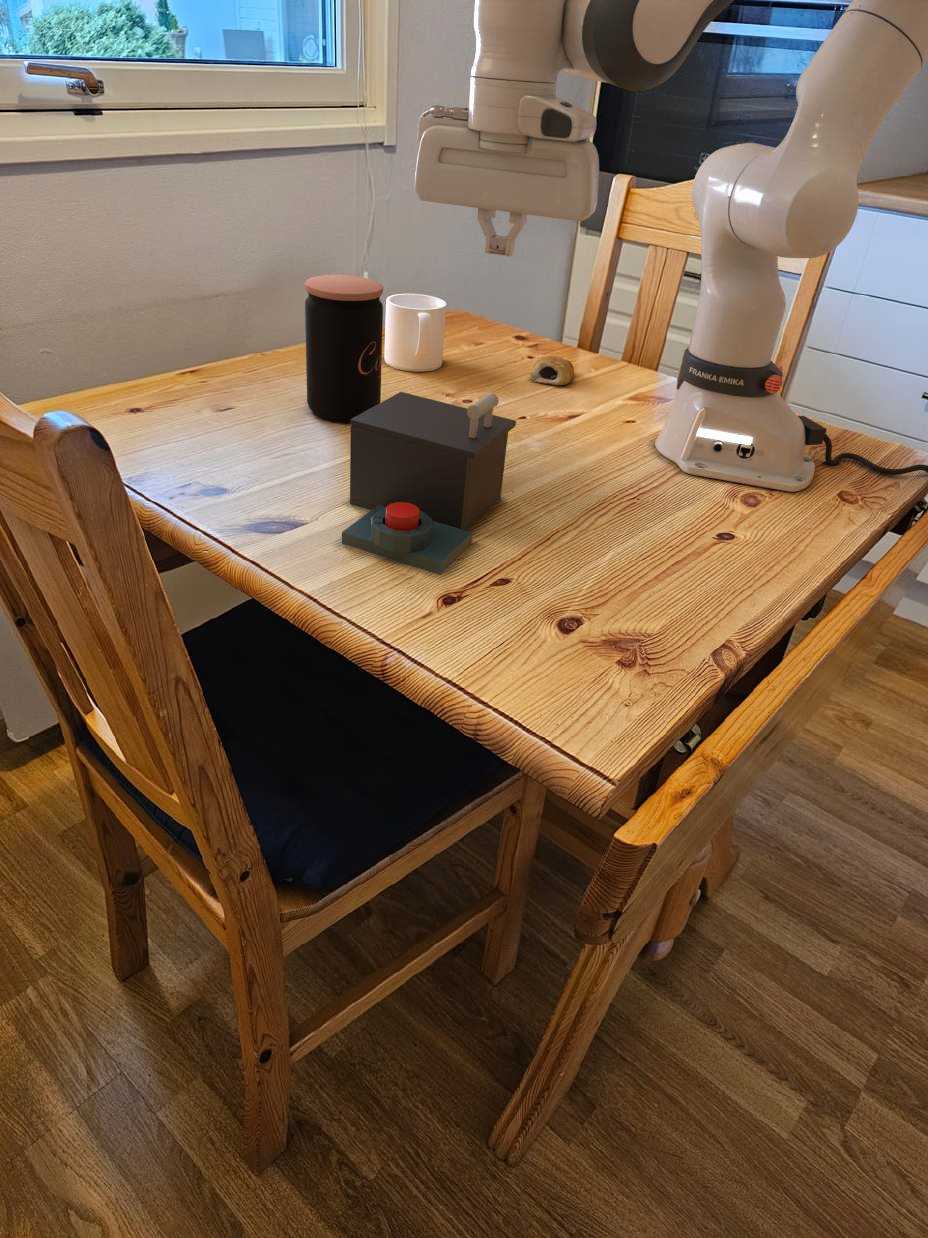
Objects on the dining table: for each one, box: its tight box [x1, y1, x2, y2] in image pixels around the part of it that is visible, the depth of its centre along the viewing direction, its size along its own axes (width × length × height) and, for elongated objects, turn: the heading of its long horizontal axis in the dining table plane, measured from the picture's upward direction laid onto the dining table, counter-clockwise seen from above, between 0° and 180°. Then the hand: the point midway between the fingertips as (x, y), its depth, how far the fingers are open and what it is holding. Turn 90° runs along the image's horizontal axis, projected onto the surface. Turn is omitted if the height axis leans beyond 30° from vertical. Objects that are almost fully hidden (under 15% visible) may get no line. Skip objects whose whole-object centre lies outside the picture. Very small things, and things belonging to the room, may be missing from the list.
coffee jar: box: [304, 274, 384, 424], centre depth 121 cm, size 11×11×18 cm
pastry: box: [530, 355, 575, 386], centre depth 146 cm, size 9×7×4 cm
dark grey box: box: [349, 425, 509, 531], centre depth 100 cm, size 15×12×10 cm
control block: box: [341, 505, 473, 575], centre depth 93 cm, size 12×9×4 cm
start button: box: [385, 502, 420, 531], centre depth 91 cm, size 4×4×2 cm
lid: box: [349, 391, 517, 459], centre depth 96 cm, size 15×12×4 cm
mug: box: [384, 293, 447, 373], centre depth 143 cm, size 13×10×10 cm
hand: (499, 254), depth 96 cm, fingers closed
